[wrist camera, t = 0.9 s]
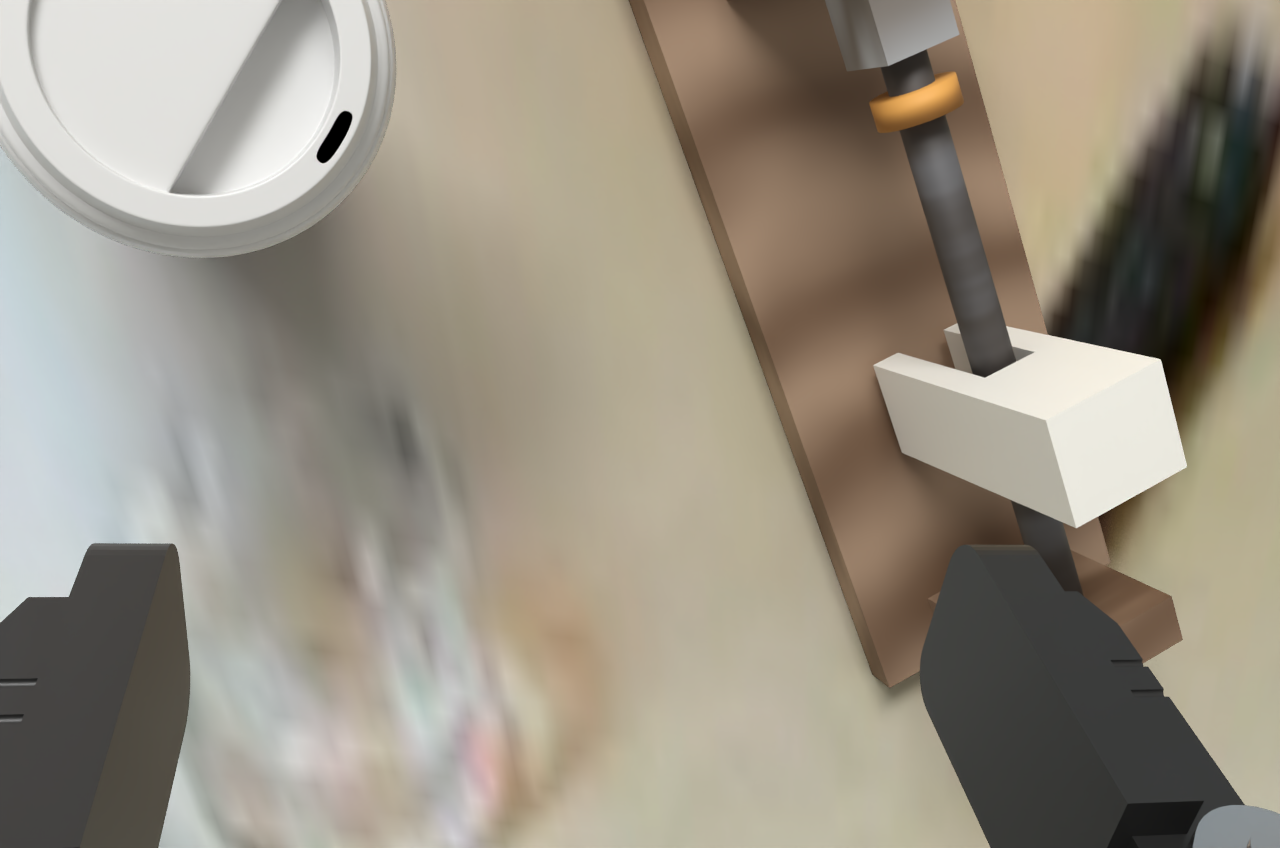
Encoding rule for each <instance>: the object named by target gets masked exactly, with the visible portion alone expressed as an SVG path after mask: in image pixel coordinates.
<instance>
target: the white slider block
mask: <svg viewBox="0 0 1280 848" xmlns="http://www.w3.org/2000/svg"><path fill="white" fill-rule="evenodd" d="M1006 327H1007V331H1008V334H1009V338H1010V341H1011V345H1012V348H1013V351H1014V355H1015V358H1016V362H1015V363H1013V364H1011V365H1009V366H1007V367H1005V368H1003V369H1001V370H999V371H997V372H995V373H993V374H991V375H989V376H987V377H986V378H984V377H981V376H977V375H974V374H973V373H972V370H971V367H970V363H969V360H968V357H967V353H966V350H965V347H964V343H963V340H962V337H961V333H960V330H959V327H958V324H957V323H956V324H954V325H952V326H950V327H948V328H946V329H944V334H945V337H946V340H947V343H948V347H949V350H950V353H951V356H952V360H953V363H954V366H955V369H953V368H949V367H946V366H943V365H939V364H936V363H932V362H929V361H925V360H922V359H918V358H915V357H911V356H908V355H904V354H901V353H896V354H894V355H892V356H890V357H888V358H886V359H884V360H882V361H880V362H878V363H876V364H874V365H873V367H874V370H875V373H876V376H877V379H878V382H879V385H880V388H881V391H882V394H883V397H884V400H885V403H886V406H887V409H888V412H889V415H890V418H891V421H892V424H893V427H894V430H895V433H896V437H897V440H898V443H899V446H900V449H901V452H902V453H904V454H906V455H908V456H911V457H913V458H915V459H918V460H920V461H922V462H924V463H927V464H929V465H931V466H934V467H936V468H938V469H941V470H943V471H945V472H948V473H950V474H952V475H954V476H957V477H959V478H961V479H964V480H966V481H968V482H971V483H973V484H975V485H978V486H980V487H982V488H984V489H987V490H989V491H991V492H994V493H996V494H998V495H1001V496H1003V497H1005V498H1008V499H1010V500H1012V501H1014V502H1017V503H1019V504H1021V505H1024V506H1026V507H1028V508H1031V509H1033V510H1035V511H1038V512H1040V513H1042V514H1044V515H1047V516H1049V517H1051V518H1054V519H1056V520H1058V521H1061V522H1063V523H1065V524H1068V525H1070V526H1072V527H1075V528H1078V527H1080V526H1082V525H1083V524H1085V523H1087V522H1089V521H1091V520H1092V519H1094V518H1096V517H1098V516H1100V515H1101V514H1103V513H1105V512H1107V511H1109V510H1110V509H1112V508H1114V507H1116V506H1118V505H1119V504H1121V503H1123V502H1125V501H1127V500H1128V499H1130V498H1132V497H1134V496H1136V495H1137V494H1139V493H1141V492H1143V491H1145V490H1146V489H1148V488H1150V487H1152V486H1153V485H1155V484H1157V483H1159V482H1161V481H1162V480H1164V479H1166V478H1168V477H1170V476H1171V475H1173V474H1175V473H1177V472H1179V471H1180V470H1182V469H1184V468H1186V467H1187V464H1186V460H1185V456H1184V452H1183V448H1182V444H1181V440H1180V436H1179V432H1178V428H1177V424H1176V420H1175V416H1174V411H1173V407H1172V403H1171V399H1170V395H1169V391H1168V387H1167V383H1166V379H1165V375H1164V371H1163V367H1162V363H1161V359H1156V358H1152V357H1147V356H1142V355H1138V354H1133V353H1129V352H1124V351H1119V350H1115V349H1110V348H1105V347H1101V346H1096V345H1091V344H1087V343H1082V342H1078V341H1073V340H1068V339H1064V338H1059V337H1054V336H1050V335H1045V334H1040V333H1036V332H1031V331H1027V330H1022V329H1017V328H1013V327H1008V326H1006Z"/></svg>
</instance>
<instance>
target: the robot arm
mask: <svg viewBox="0 0 1280 848" xmlns="http://www.w3.org/2000/svg"><path fill="white" fill-rule="evenodd" d="M1142 661H1143V659H1142V657H1141V656H1140V655H1139V653H1138V652H1137V650H1136V649H1135V647H1134V646H1133V645H1132V643H1131V642H1130V640H1129V639H1128V637H1127V636H1126V635H1125V633H1124V632H1123V630H1122V629H1121V627H1120V626H1119V625H1118V623H1117V622H1115V621H1114V620H1113V619H1112V618H1110V617H1109V616H1108V615H1107V614H1105V613H1104V612H1103V611H1102V610H1100V609H1099V608H1098V607H1097V606H1095V605H1094V604H1093V603H1092V602H1090V601H1089V600H1088V599H1087V598H1085V597H1084V596H1083V595H1082V594H1080V593H1079V592H1078V591H1064V590H1063V588H1062V587H1061V585H1060V584H1059V582H1058V581H1057V579H1056V578H1055V576H1054V575H1053V573H1052V572H1051V570H1050V569H1049V567H1048V566H1047V564H1046V563H1045V561H1044V560H1043V558H1042V557H1041V555H1040V554H1039V553H1038V551H1037V550H1036V549H1034V548H1033V547H1031V546H1029V545H961V546H960V547H958V548H957V549H956V550H955V552H954V553H953V555H952V557H951V559H950V562H949V565H948V568H947V572H946V575H945V578H944V581H943V584H942V588H941V591H940V594H939V597H938V600H937V604H936V607H935V610H934V613H933V617H932V620H931V623H930V626H929V629H928V633H927V636H926V639H925V642H924V645H923V649H922V653H921V659H920V684H921V691H922V696H923V700H924V703H925V706H926V709H927V711H928V714H929V716H930V718H931V720H932V722H933V724H934V727H935V729H936V731H937V733H938V735H939V737H940V740H941V742H942V744H943V746H944V748H945V750H946V752H947V755H948V757H949V759H950V761H951V763H952V765H953V768H954V770H955V772H956V774H957V776H958V778H959V780H960V783H961V785H962V787H963V789H964V791H965V793H966V796H967V798H968V800H969V802H970V804H971V806H972V809H973V811H974V813H975V815H976V817H977V819H978V821H979V824H980V826H981V828H982V830H983V832H984V834H985V837H986V839H987V841H988V843H989V845H990V847H991V848H1280V814H1278V813H1276V812H1273V811H1270V810H1267V809H1263V808H1259V807H1254V806H1246V805H1244V803H1243V802H1242V800H1241V799H1240V798H1239V796H1238V795H1237V793H1236V792H1235V790H1234V789H1233V788H1232V786H1231V785H1230V783H1229V782H1228V780H1227V779H1226V778H1225V776H1224V775H1223V773H1222V772H1221V770H1220V769H1219V768H1218V766H1217V765H1216V763H1215V762H1214V760H1213V759H1212V758H1211V756H1210V755H1209V753H1208V752H1207V750H1206V749H1205V748H1204V746H1203V745H1202V743H1201V742H1200V740H1199V739H1198V738H1197V736H1196V735H1195V733H1194V732H1193V730H1192V729H1191V728H1190V726H1189V725H1188V723H1187V722H1186V720H1185V719H1184V718H1183V716H1182V715H1181V713H1180V712H1179V710H1178V709H1177V708H1176V706H1175V705H1174V703H1173V702H1172V700H1171V699H1170V698H1169V697H1164V695H1163V690H1164V689H1163V687H1162V686H1161V685H1160V683H1159V682H1158V680H1157V679H1156V677H1155V676H1154V675H1153V673H1152V672H1151V670H1150V669H1149V667H1143V663H1142ZM189 696H190V660H189V650H188V640H187V631H186V621H185V611H184V602H183V592H182V583H181V573H180V563H179V556H178V552H177V549H176V547H175V545H174V544H109V543H95V544H92V545H90V547H89V548H88V550H87V552H86V554H85V556H84V559H83V562H82V564H81V567H80V569H79V572H78V575H77V577H76V580H75V582H74V585H73V588H72V590H71V593H70V596H69V597H28V598H27V599H26V600H25V601H24V602H23V603H21V604H20V605H19V606H18V607H17V608H16V609H15V610H14V611H13V612H12V613H11V614H10V615H8V616H7V617H6V618H5V619H4V620H3V621H2V622H1V623H0V848H158V846H159V842H160V837H161V833H162V828H163V824H164V820H165V815H166V811H167V807H168V802H169V798H170V793H171V789H172V785H173V780H174V776H175V772H176V767H177V763H178V758H179V754H180V750H181V745H182V741H183V737H184V732H185V727H186V722H187V716H188V708H189Z"/></svg>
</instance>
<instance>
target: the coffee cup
mask: <svg viewBox="0 0 1280 848" xmlns="http://www.w3.org/2000/svg"><path fill="white" fill-rule="evenodd" d="M395 85H396V50H395V41H394V34H393V28H392V23H391V19H390V15H389V11H388V8H387V4H386V1H385V0H0V146H1V148H2V149H3V151H4V152H5V154H6V155H7V157H8V158H9V159H10V161H11V162H12V163H13V164H14V166H15V167H16V168H17V169H18V171H19V172H20V173H21V174H22V175H23V176H24V177H25V179H26V180H27V181H28V182H29V183H30V184H31V185H32V186H33V187H34V188H35V189H36V190H37V191H38V192H39V193H40V194H41V195H43V196H44V197H45V198H46V199H47V200H48V201H49V202H51V203H52V204H53V205H54V206H56V207H57V208H58V209H60V210H61V211H62V212H64V213H65V214H66V215H68V216H69V217H71V218H72V219H74V220H76V221H77V222H79V223H80V224H82V225H84V226H85V227H87V228H89V229H91V230H93V231H95V232H97V233H99V234H101V235H103V236H105V237H107V238H109V239H112V240H114V241H117V242H119V243H122V244H125V245H128V246H131V247H134V248H137V249H140V250H144V251H148V252H152V253H157V254H162V255H169V256H176V257H187V258H216V257H227V256H234V255H240V254H245V253H250V252H254V251H258V250H261V249H264V248H268V247H270V246H273V245H276V244H278V243H281V242H283V241H286V240H288V239H290V238H292V237H294V236H296V235H298V234H300V233H301V232H303V231H305V230H307V229H308V228H310V227H311V226H313V225H314V224H316V223H317V222H319V221H320V220H321V219H323V218H324V217H325V216H327V215H328V214H329V213H330V212H331V211H333V210H334V209H335V208H336V207H337V206H338V205H339V204H340V203H341V202H342V201H343V200H344V199H345V198H346V197H347V196H348V195H349V194H350V193H351V191H352V190H353V189H354V188H355V187H356V185H357V184H358V183H359V181H360V180H361V179H362V177H363V176H364V174H365V173H366V171H367V170H368V168H369V166H370V165H371V163H372V161H373V159H374V158H375V156H376V154H377V152H378V149H379V147H380V145H381V143H382V140H383V138H384V135H385V132H386V129H387V126H388V123H389V119H390V115H391V111H392V106H393V101H394V94H395Z"/></svg>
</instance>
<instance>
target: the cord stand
mask: <svg viewBox="0 0 1280 848" xmlns="http://www.w3.org/2000/svg"><path fill="white" fill-rule="evenodd" d="M629 2H630V5H631V7H632V10H633V13H634V16H635V19H636V21H637V24H638V27H639V30H640V32H641V35H642V38H643V41H644V43H645V46H646V49H647V52H648V54H649V57H650V60H651V63H652V66H653V68H654V71H655V74H656V77H657V79H658V82H659V85H660V88H661V90H662V93H663V96H664V99H665V102H666V104H667V107H668V110H669V113H670V115H671V118H672V121H673V124H674V126H675V129H676V132H677V135H678V137H679V140H680V143H681V146H682V149H683V151H684V154H685V157H686V160H687V162H688V165H689V168H690V171H691V173H692V176H693V179H694V182H695V185H696V187H697V190H698V193H699V196H700V198H701V201H702V204H703V207H704V209H705V212H706V215H707V218H708V220H709V223H710V226H711V229H712V232H713V234H714V237H715V240H716V243H717V245H718V248H719V251H720V254H721V256H722V259H723V262H724V265H725V267H726V270H727V273H728V276H729V279H730V281H731V284H732V287H733V290H734V292H735V295H736V298H737V301H738V303H739V306H740V309H741V312H742V315H743V317H744V320H745V323H746V326H747V328H748V331H749V334H750V337H751V339H752V342H753V345H754V348H755V350H756V353H757V356H758V359H759V362H760V364H761V367H762V370H763V373H764V375H765V378H766V381H767V384H768V386H769V389H770V392H771V395H772V398H773V400H774V403H775V406H776V409H777V411H778V414H779V417H780V420H781V422H782V425H783V428H784V431H785V433H786V436H787V439H788V442H789V445H790V447H791V450H792V453H793V456H794V458H795V461H796V464H797V467H798V469H799V472H800V475H801V478H802V481H803V483H804V486H805V489H806V492H807V494H808V497H809V500H810V503H811V505H812V508H813V511H814V514H815V516H816V519H817V522H818V525H819V528H820V530H821V533H822V536H823V539H824V541H825V544H826V547H827V550H828V552H829V555H830V558H831V561H832V564H833V566H834V569H835V572H836V575H837V577H838V580H839V583H840V586H841V588H842V591H843V594H844V597H845V599H846V602H847V605H848V608H849V611H850V613H851V616H852V619H853V622H854V624H855V627H856V630H857V633H858V635H859V638H860V641H861V644H862V647H863V649H864V652H865V655H866V658H867V660H868V663H869V666H870V669H871V671H872V674H873V675H874V676H875V677H876V678H878V679H879V680H880V681H882V682H883V683H884V684H885V685H887V686H888V687H889V688H891V687H892V686H894V685H896V684H898V683H899V682H901V681H903V680H905V679H906V678H908V677H910V676H912V675H914V674H915V673H917V672H919V671H920V659H921V653H922V649H923V645H924V642H925V639H926V636H927V633H928V629H929V626H930V623H931V620H932V617H933V613H934V610H935V607H936V604H937V600H938V597H939V594H940V591H941V588H942V584H943V581H944V578H945V575H946V572H947V568H948V565H949V562H950V559H951V557H952V555H953V553H954V552H955V550H956V549H957V548H958V547H960V546H961V545H1029V546H1031V547H1033V548H1034V549H1036V550H1037V551H1038V553H1039V554H1040V555H1041V557H1042V558H1043V560H1044V561H1045V563H1046V564H1047V566H1048V567H1049V569H1050V570H1051V572H1052V573H1053V575H1054V576H1055V578H1056V579H1057V581H1058V582H1059V584H1060V585H1061V587H1062V588H1063V590H1064V591H1078V592H1079V593H1080V594H1082V595H1083V596H1084V597H1085V598H1087V599H1088V600H1089V601H1090V602H1092V603H1093V604H1094V605H1095V606H1097V607H1098V608H1099V609H1100V610H1102V611H1103V612H1104V613H1105V614H1107V615H1108V616H1109V617H1110V618H1112V619H1113V620H1114V621H1115V622H1117V623H1118V625H1119V626H1120V627H1121V629H1122V630H1123V632H1124V633H1125V635H1126V636H1127V637H1128V639H1129V640H1130V642H1131V643H1132V645H1133V646H1134V647H1135V649H1136V650H1137V652H1138V653H1139V655H1140V656H1141V657H1142V659H1143V661H1142V663H1144V662H1146V661H1148V660H1149V659H1151V658H1153V657H1154V656H1156V655H1158V654H1159V653H1161V652H1163V651H1165V650H1166V649H1168V648H1170V647H1171V646H1173V645H1175V644H1176V643H1178V642H1180V641H1181V640H1183V639H1182V635H1181V631H1180V627H1179V623H1178V620H1177V616H1176V612H1175V608H1174V604H1173V600H1172V597H1171V596H1170V595H1167V594H1165V593H1163V592H1161V591H1159V590H1157V589H1154V588H1152V587H1150V586H1148V585H1146V584H1144V583H1141V582H1139V581H1137V580H1135V579H1133V578H1131V577H1128V576H1126V575H1124V574H1122V573H1120V572H1118V571H1115V570H1113V569H1111V568H1109V567H1107V566H1105V565H1107V564H1109V563H1111V562H1110V558H1109V555H1108V551H1107V548H1106V544H1105V540H1104V537H1103V533H1102V529H1101V526H1100V522H1099V519H1098V517H1096V518H1094V519H1092V520H1091V521H1089V522H1087V523H1085V524H1083V525H1082V526H1080V527H1078V528H1075V527H1072V526H1070V525H1068V524H1065V523H1063V522H1061V521H1058V520H1056V519H1054V518H1051V517H1049V516H1047V515H1044V514H1042V513H1040V512H1038V511H1035V510H1033V509H1031V508H1028V507H1026V506H1024V505H1021V504H1019V503H1017V502H1014V501H1012V500H1010V499H1008V498H1005V497H1003V496H1001V495H998V494H996V493H994V492H991V491H989V490H987V489H984V488H982V487H980V486H978V485H975V484H973V483H971V482H968V481H966V480H964V479H961V478H959V477H957V476H954V475H952V474H950V473H948V472H945V471H943V470H941V469H938V468H936V467H934V466H931V465H929V464H927V463H924V462H922V461H920V460H918V459H915V458H913V457H911V456H908V455H906V454H904V453H902V452H901V449H900V446H899V443H898V440H897V437H896V433H895V430H894V427H893V424H892V421H891V418H890V415H889V412H888V409H887V406H886V403H885V400H884V397H883V394H882V391H881V388H880V385H879V382H878V379H877V376H876V373H875V370H874V367H873V365H874V364H876V363H878V362H880V361H882V360H884V359H886V358H888V357H890V356H892V355H894V354H896V353H901V354H904V355H908V356H911V357H915V358H918V359H922V360H925V361H929V362H932V363H936V364H939V365H943V366H946V367H949V368H953V369H955V366H954V363H953V360H952V356H951V353H950V350H949V347H948V343H947V340H946V337H945V334H944V329H946V328H948V327H950V326H952V325H954V324H956V323H957V324H958V327H959V330H960V333H961V337H962V340H963V343H964V347H965V350H966V353H967V357H968V360H969V363H970V367H971V370H972V373H973V374H974V375H977V376H981V377H984V378H986V377H987V376H989V375H991V374H993V373H995V372H997V371H999V370H1001V369H1003V368H1005V367H1007V366H1009V365H1011V364H1013V363H1015V362H1016V358H1015V355H1014V351H1013V348H1012V345H1011V341H1010V338H1009V334H1008V331H1007V327H1006V326H1008V327H1013V328H1017V329H1022V330H1027V331H1031V332H1036V333H1040V334H1045V335H1048V334H1047V330H1046V327H1045V323H1044V320H1043V316H1042V312H1041V309H1040V305H1039V302H1038V298H1037V294H1036V291H1035V287H1034V283H1033V280H1032V276H1031V273H1030V269H1029V265H1028V262H1027V258H1026V255H1025V251H1024V247H1023V244H1022V240H1021V236H1020V233H1019V229H1018V226H1017V222H1016V218H1015V215H1014V211H1013V207H1012V204H1011V200H1010V197H1009V193H1008V189H1007V186H1006V182H1005V179H1004V175H1003V171H1002V168H1001V164H1000V160H999V157H998V153H997V150H996V146H995V142H994V139H993V135H992V132H991V128H990V124H989V121H988V117H987V113H986V110H985V106H984V103H983V99H982V95H981V92H980V88H979V84H978V81H977V77H976V74H975V70H974V66H973V63H972V59H971V56H970V52H969V48H968V45H967V41H966V37H965V34H964V30H963V27H962V23H961V19H960V16H959V12H958V9H957V5H956V1H955V0H629Z"/></svg>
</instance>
